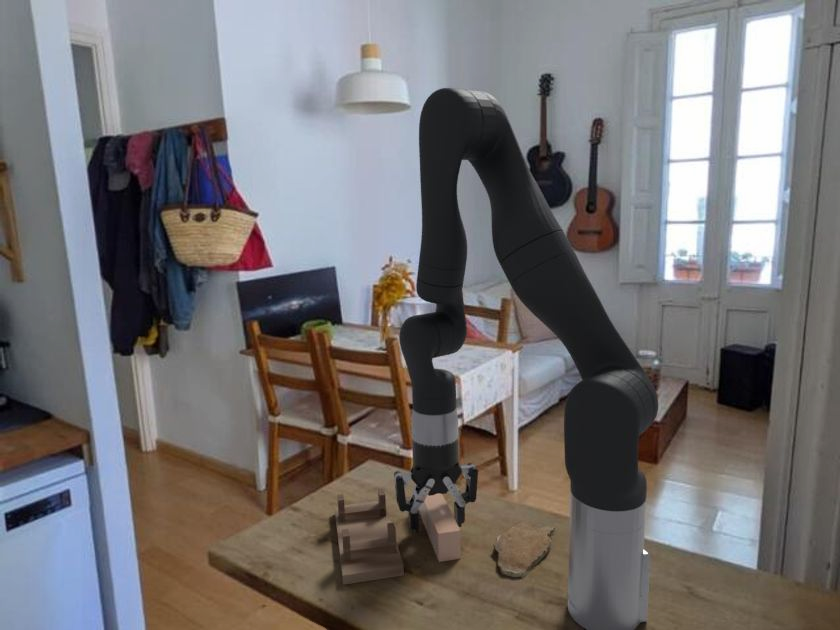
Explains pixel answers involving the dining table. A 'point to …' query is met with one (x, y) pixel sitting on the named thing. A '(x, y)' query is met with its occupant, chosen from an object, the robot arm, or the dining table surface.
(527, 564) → the pottery shard
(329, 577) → the dining table surface
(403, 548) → the dining table surface
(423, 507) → the clay bar
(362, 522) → the brown cradle stand
